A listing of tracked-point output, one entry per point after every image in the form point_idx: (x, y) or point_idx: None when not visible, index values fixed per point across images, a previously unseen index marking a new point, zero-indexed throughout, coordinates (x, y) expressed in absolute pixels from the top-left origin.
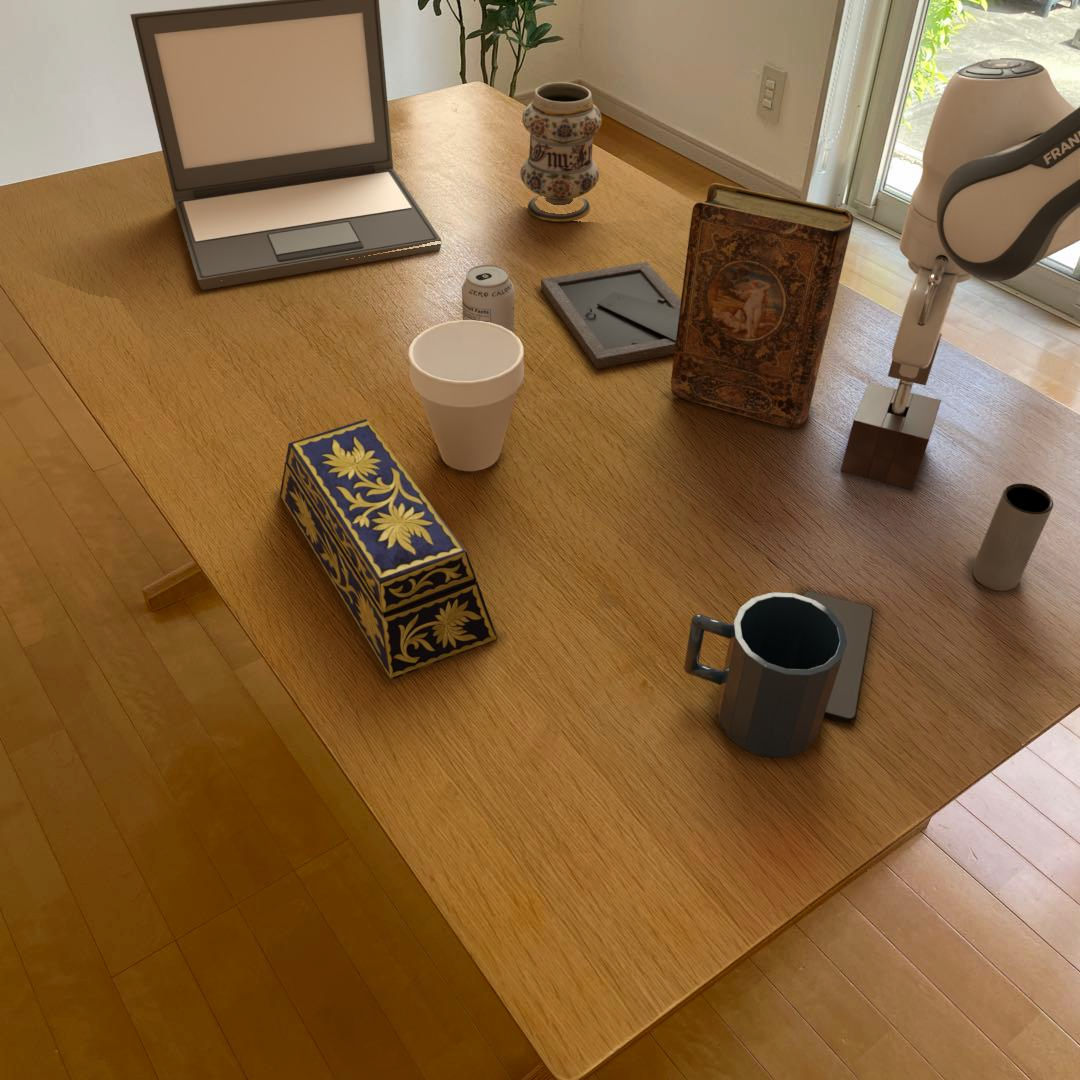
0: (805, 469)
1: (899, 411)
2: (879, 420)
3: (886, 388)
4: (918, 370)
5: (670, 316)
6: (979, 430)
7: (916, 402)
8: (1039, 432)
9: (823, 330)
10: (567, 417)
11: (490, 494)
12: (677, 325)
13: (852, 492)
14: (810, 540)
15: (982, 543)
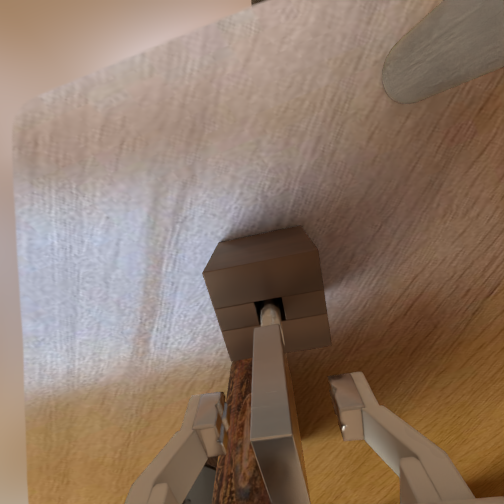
0: (330, 324)
1: (279, 309)
2: (311, 321)
3: (229, 340)
4: (369, 387)
5: (202, 493)
6: (134, 204)
7: (234, 298)
8: (76, 136)
9: (266, 502)
10: (370, 478)
11: (490, 475)
12: (211, 486)
13: (341, 274)
14: (441, 276)
15: (450, 88)
